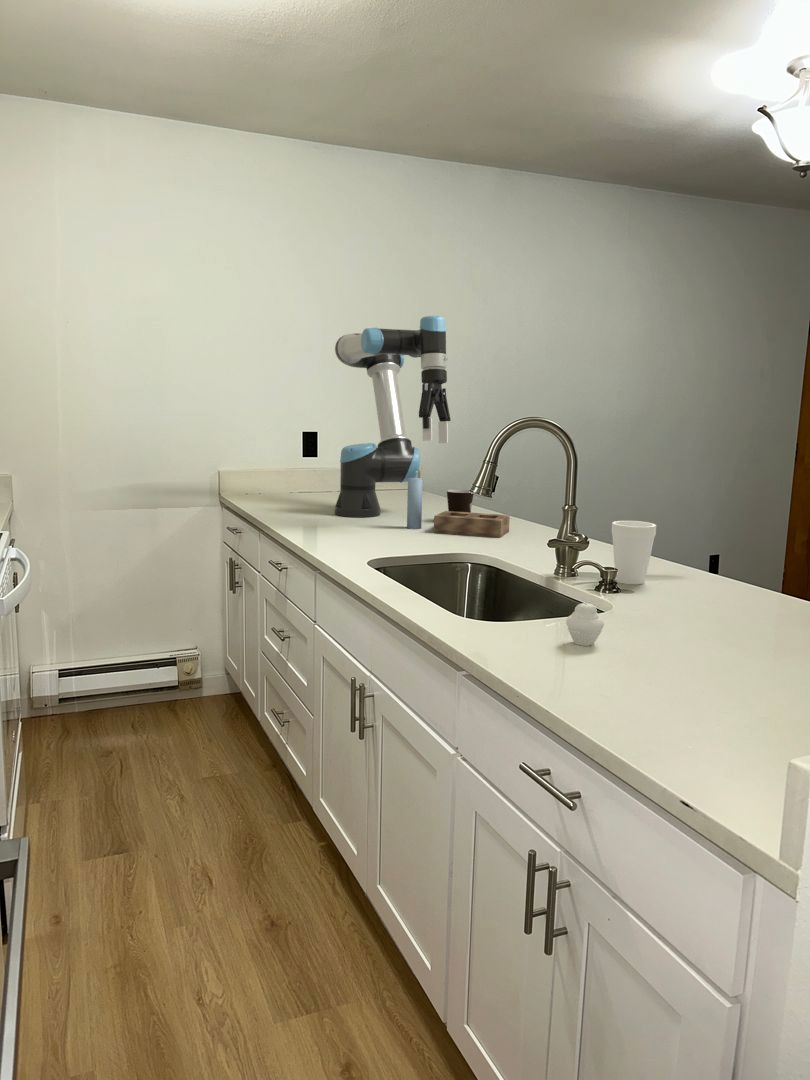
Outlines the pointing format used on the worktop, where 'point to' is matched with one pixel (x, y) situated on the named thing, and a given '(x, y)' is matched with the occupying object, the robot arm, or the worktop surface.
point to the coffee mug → (459, 500)
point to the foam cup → (632, 549)
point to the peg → (414, 503)
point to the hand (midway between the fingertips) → (435, 441)
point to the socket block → (471, 524)
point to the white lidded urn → (584, 624)
